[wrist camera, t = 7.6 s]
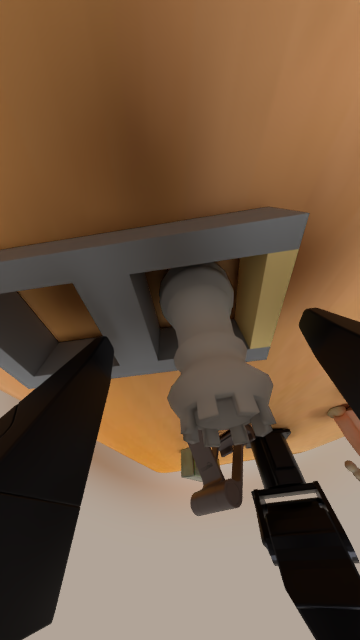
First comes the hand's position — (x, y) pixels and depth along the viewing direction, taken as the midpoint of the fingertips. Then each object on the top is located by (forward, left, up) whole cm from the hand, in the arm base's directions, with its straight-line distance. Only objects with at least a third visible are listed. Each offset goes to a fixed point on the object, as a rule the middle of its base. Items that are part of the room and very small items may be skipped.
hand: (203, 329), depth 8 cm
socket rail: (0, +4, -4) cm, 6 cm away
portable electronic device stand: (-25, -1, -4) cm, 25 cm away
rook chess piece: (0, 0, -4) cm, 4 cm away
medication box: (-37, +2, -4) cm, 38 cm away
